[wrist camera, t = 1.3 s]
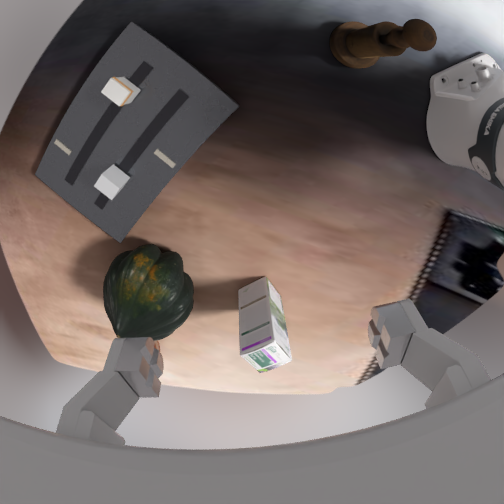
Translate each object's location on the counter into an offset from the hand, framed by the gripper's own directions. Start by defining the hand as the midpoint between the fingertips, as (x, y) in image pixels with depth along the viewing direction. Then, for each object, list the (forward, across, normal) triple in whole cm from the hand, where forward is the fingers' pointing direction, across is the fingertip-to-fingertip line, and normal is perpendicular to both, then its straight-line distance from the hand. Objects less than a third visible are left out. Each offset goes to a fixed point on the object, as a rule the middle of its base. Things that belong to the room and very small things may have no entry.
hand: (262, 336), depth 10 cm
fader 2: (+29, +17, +1) cm, 34 cm away
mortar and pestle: (+32, -16, -12) cm, 38 cm away
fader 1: (+29, +13, -10) cm, 33 cm away
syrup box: (+33, +1, +26) cm, 42 cm away
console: (+32, +16, -4) cm, 36 cm away
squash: (+33, +18, +19) cm, 42 cm away
